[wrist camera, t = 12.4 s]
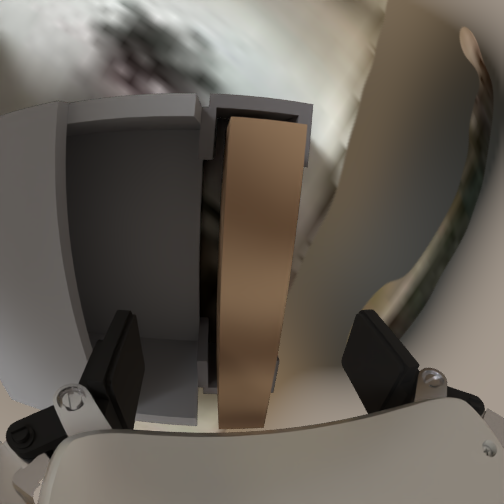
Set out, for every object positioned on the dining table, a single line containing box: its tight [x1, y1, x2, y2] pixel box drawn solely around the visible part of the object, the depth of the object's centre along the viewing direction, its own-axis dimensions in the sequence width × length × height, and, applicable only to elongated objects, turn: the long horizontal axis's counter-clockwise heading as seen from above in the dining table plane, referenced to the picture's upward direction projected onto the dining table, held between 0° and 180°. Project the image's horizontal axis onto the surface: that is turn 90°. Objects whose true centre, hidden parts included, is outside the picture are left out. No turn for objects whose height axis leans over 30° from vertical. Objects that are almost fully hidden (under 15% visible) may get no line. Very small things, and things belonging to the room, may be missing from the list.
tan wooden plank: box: [216, 117, 307, 429], centre depth 18 cm, size 18×4×11 cm, turn 176°
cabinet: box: [0, 93, 313, 426], centre depth 17 cm, size 22×22×11 cm
